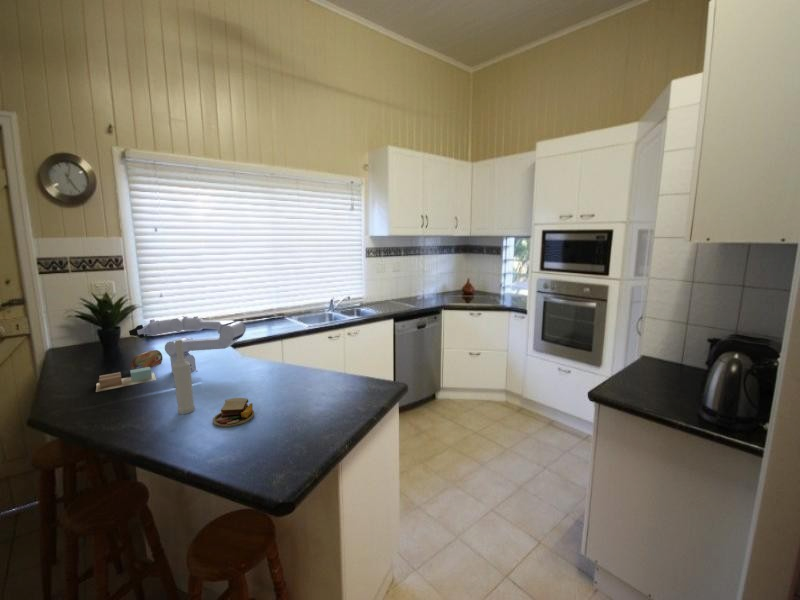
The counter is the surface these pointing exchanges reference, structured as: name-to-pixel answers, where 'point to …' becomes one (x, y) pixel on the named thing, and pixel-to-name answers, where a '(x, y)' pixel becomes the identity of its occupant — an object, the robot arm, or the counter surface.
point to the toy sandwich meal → (234, 413)
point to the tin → (146, 359)
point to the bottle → (183, 381)
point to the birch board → (125, 383)
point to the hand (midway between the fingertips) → (137, 331)
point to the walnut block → (110, 380)
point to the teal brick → (140, 374)
